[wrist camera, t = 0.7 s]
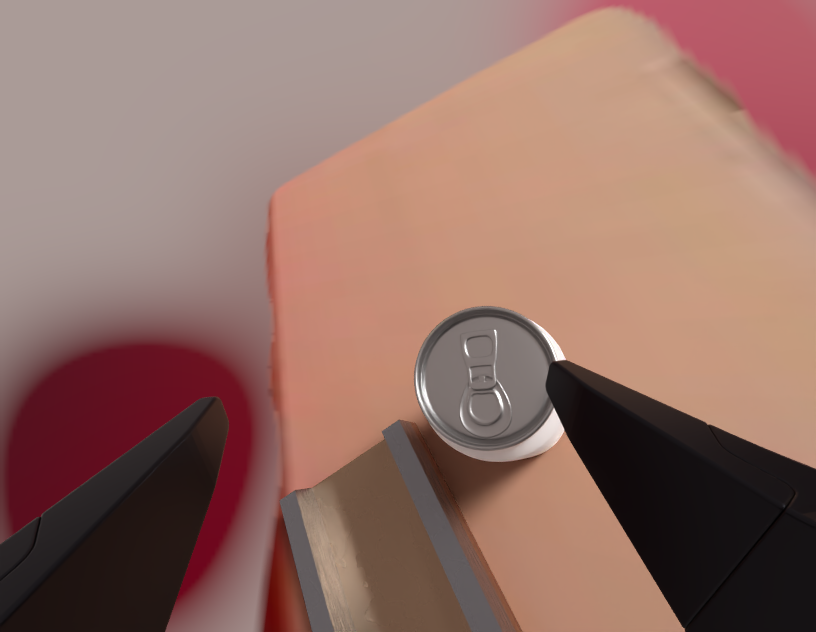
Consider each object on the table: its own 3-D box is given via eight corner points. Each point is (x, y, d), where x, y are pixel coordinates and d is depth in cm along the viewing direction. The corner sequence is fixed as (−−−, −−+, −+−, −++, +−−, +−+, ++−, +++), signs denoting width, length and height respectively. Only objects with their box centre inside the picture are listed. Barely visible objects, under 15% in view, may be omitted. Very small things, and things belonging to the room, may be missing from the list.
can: (473, 457, 23) (404, 463, 13) (467, 366, 25) (404, 309, 15) (576, 458, 21) (592, 465, 10) (558, 357, 23) (556, 282, 13)
